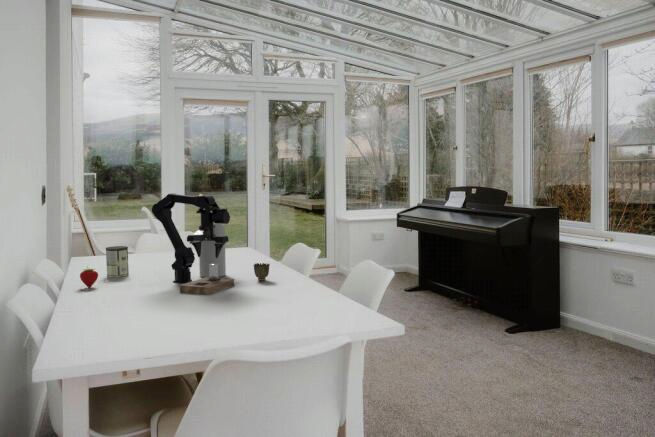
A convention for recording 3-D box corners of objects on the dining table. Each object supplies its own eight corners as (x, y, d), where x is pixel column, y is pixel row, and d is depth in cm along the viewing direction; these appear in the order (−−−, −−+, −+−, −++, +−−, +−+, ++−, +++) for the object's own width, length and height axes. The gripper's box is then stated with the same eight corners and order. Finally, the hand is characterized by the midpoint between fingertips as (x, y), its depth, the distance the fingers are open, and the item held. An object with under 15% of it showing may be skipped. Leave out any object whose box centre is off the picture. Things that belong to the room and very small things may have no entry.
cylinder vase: (194, 277, 266) (193, 225, 264) (209, 272, 278) (208, 223, 276) (216, 278, 261) (215, 226, 260) (230, 274, 273) (229, 224, 271)
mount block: (179, 292, 231) (179, 285, 231) (207, 283, 250) (207, 276, 250) (208, 294, 226) (208, 287, 226) (234, 285, 246) (233, 278, 245)
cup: (266, 282, 251) (266, 265, 251) (251, 282, 253) (251, 265, 252) (271, 279, 259) (271, 262, 258) (256, 279, 260) (256, 262, 260)
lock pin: (207, 287, 242) (206, 264, 241) (212, 285, 246) (211, 263, 245) (215, 287, 240) (214, 265, 240) (220, 286, 244) (219, 263, 243)
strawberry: (97, 288, 240) (96, 265, 239) (78, 289, 238) (78, 266, 237) (99, 285, 246) (99, 263, 245) (81, 286, 244) (80, 264, 243)
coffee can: (112, 273, 277) (111, 245, 276) (132, 273, 276) (131, 246, 275) (102, 277, 267) (101, 248, 265) (122, 277, 265) (121, 248, 264)
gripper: (179, 224, 243) (180, 259, 244) (215, 225, 237) (216, 261, 238) (193, 222, 254) (194, 255, 255) (228, 223, 247) (229, 257, 248)
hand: (207, 257), depth 249 cm, fingers open, 9 cm apart
